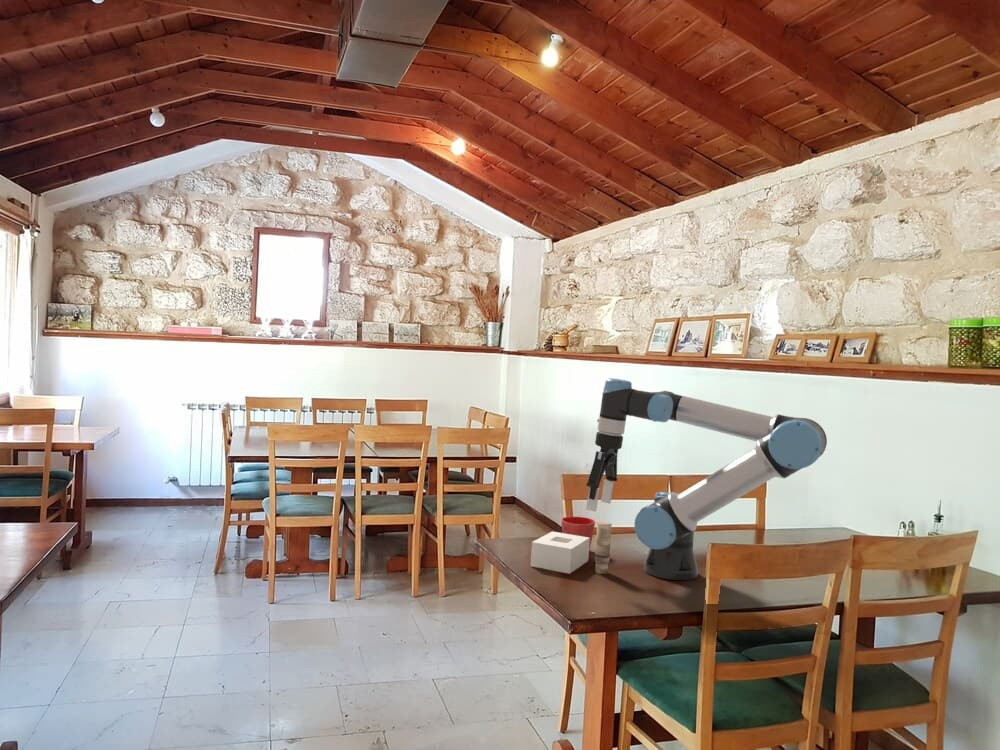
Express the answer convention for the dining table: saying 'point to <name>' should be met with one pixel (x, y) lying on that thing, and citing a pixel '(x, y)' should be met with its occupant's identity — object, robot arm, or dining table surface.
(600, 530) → the beech peg
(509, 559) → the dining table surface
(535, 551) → the socket block
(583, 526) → the flower pot
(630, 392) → the robot arm
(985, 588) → the dining table surface
